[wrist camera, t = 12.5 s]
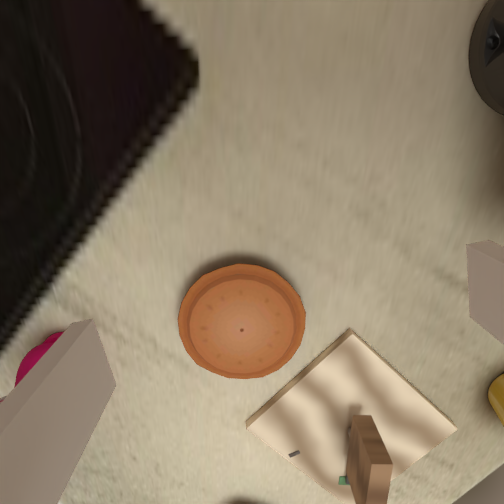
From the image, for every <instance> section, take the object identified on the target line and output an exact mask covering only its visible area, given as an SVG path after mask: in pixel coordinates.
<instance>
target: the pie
mask: <svg viewBox="0 0 504 504" xmlns="http://www.w3.org/2000/svg"><path fill="white" fill-rule="evenodd" d="M305 317H306V312H305V309H304V307H303V304H302V301H301V299H300V296H299V295H298V294H297V292H296V291H295V290H294V289H293V287H292V286H291V285H290V284H289V283H288V282H287V281H286V280H285V279H283V278H282V277H281V276H280V275H278V274H277V273H276V272H275V271H272V270H269V269H267V268H264V267H261V266H258V265H251V264H240V263H237V264H233V265H230V266H226V267H222V268H219V269H216V270H214V271H212V272H209V273H207V274H204V275H202V276H201V277H200V278H199V279H198V280H197V281H196V282H195V283H194V284H193V285H192V286H191V287H190V289H189V290H188V292H187V294H186V296H185V297H184V299H183V301H182V303H181V307H180V311H179V316H178V326H179V334H180V337H181V340H182V342H183V344H184V347H185V349H186V351H187V353H188V354H189V355H190V356H191V358H192V359H193V360H194V361H195V363H196V364H197V365H199V366H201V367H203V368H205V369H207V370H209V371H211V372H213V373H216V374H219V375H221V376H224V377H227V378H238V379H249V378H259V377H264V376H266V375H268V374H270V373H273V372H275V371H277V370H279V369H280V368H281V367H282V366H283V365H285V364H286V363H287V362H288V361H289V360H290V359H291V358H292V356H293V355H294V353H295V352H296V351H297V349H298V348H299V346H300V344H301V341H302V337H303V334H304V330H305Z"/></svg>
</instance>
